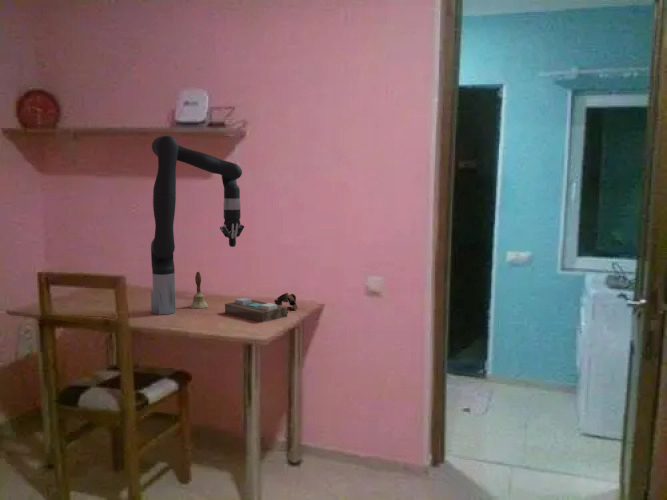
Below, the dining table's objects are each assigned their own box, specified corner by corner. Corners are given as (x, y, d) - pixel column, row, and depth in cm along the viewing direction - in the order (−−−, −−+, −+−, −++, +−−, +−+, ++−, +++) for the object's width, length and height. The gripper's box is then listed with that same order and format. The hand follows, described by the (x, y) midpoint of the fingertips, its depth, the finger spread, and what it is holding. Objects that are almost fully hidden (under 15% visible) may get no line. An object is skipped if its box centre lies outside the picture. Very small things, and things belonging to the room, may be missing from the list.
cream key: (268, 311, 254) (268, 306, 254) (260, 310, 258) (260, 304, 257) (277, 309, 258) (277, 304, 258) (268, 308, 261) (268, 303, 261)
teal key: (255, 311, 260) (255, 306, 259) (247, 309, 263) (247, 304, 263) (264, 309, 264) (264, 304, 263) (256, 308, 267) (256, 303, 266)
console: (263, 322, 251) (263, 312, 250) (225, 312, 266) (224, 303, 265) (287, 316, 261) (287, 307, 261) (249, 307, 276) (249, 299, 276)
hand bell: (193, 309, 272) (192, 274, 270) (187, 306, 279) (186, 271, 277) (211, 307, 276) (210, 272, 274) (204, 304, 283) (204, 270, 281)
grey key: (242, 306, 265) (242, 301, 264) (235, 304, 268) (235, 299, 268) (251, 304, 268) (251, 299, 268) (243, 302, 272) (243, 297, 271)
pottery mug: (293, 313, 269) (284, 297, 268) (277, 320, 274) (268, 304, 272) (305, 301, 279) (295, 286, 278) (289, 308, 284) (280, 293, 283)
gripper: (237, 207, 284) (238, 244, 286) (215, 208, 274) (215, 247, 276) (248, 208, 279) (248, 246, 281) (226, 209, 269) (226, 248, 271)
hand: (232, 246), depth 279 cm, fingers closed
